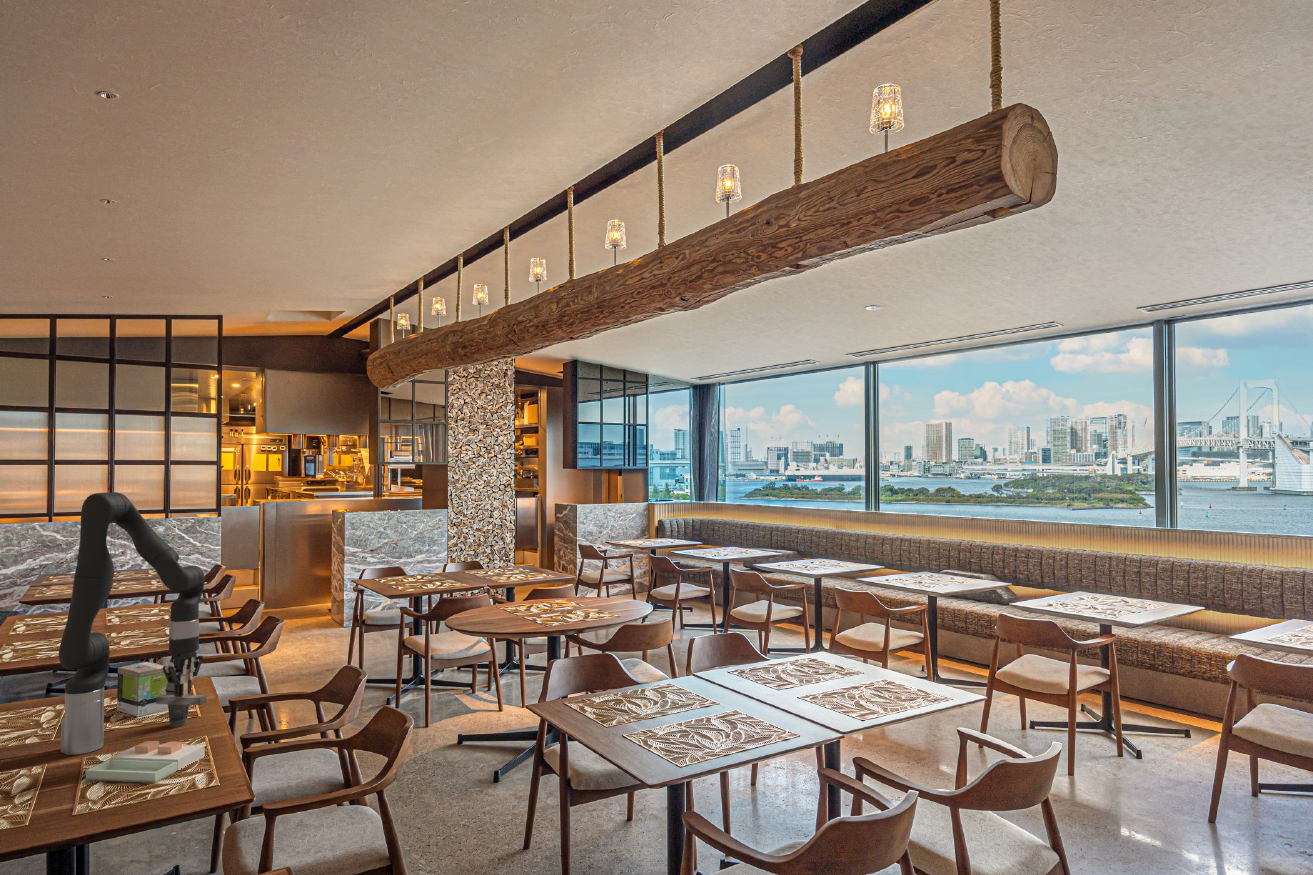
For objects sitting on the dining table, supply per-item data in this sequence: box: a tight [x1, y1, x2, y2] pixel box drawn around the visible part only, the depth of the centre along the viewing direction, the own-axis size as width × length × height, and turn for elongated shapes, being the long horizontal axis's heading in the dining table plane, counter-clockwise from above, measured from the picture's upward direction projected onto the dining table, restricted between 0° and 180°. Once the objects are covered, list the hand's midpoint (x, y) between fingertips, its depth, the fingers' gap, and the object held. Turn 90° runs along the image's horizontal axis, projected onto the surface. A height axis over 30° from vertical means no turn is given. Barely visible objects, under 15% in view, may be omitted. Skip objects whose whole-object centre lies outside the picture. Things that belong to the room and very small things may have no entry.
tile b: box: [158, 741, 183, 754], centre depth 209 cm, size 4×4×2 cm
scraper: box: [156, 669, 208, 706], centre depth 219 cm, size 14×2×10 cm, turn 83°
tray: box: [85, 758, 178, 784], centre depth 199 cm, size 20×8×2 cm, turn 83°
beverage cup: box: [165, 678, 193, 728], centre depth 240 cm, size 7×7×20 cm
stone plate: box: [110, 743, 206, 771], centre depth 208 cm, size 20×10×3 cm, turn 83°
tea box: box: [116, 661, 168, 718], centre depth 255 cm, size 15×10×15 cm
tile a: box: [134, 740, 160, 753], centre depth 209 cm, size 4×4×2 cm
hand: (182, 694), depth 219 cm, fingers closed on scraper, 2 cm apart
